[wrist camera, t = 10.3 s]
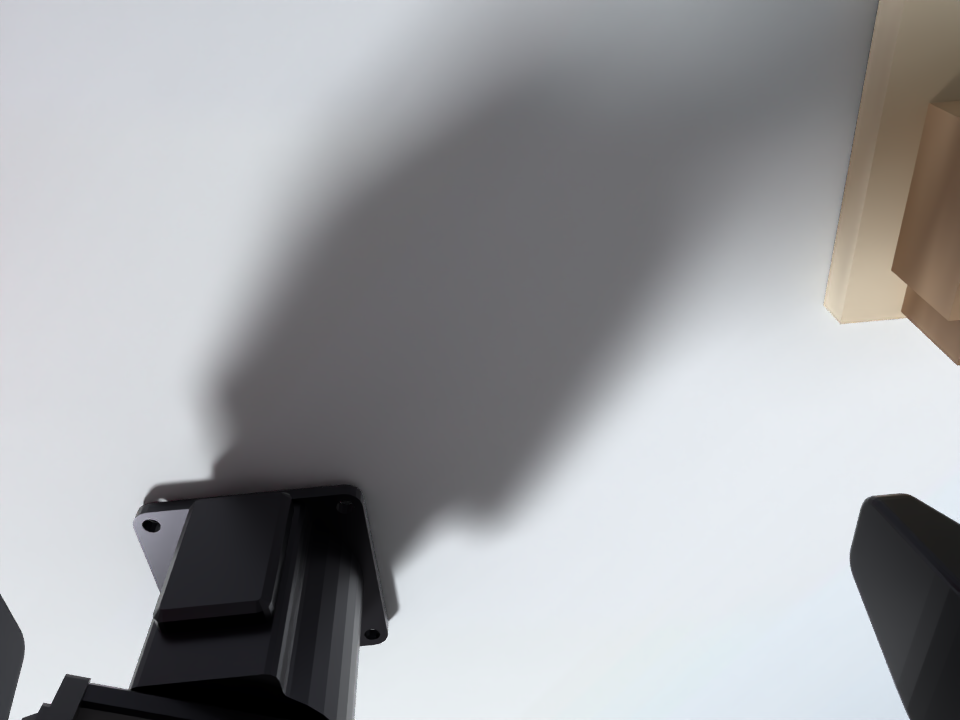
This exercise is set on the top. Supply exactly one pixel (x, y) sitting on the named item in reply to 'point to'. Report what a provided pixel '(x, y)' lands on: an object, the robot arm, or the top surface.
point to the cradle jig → (905, 179)
